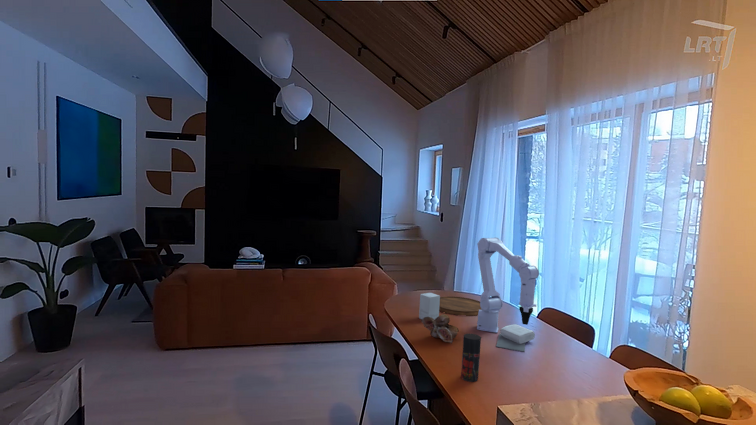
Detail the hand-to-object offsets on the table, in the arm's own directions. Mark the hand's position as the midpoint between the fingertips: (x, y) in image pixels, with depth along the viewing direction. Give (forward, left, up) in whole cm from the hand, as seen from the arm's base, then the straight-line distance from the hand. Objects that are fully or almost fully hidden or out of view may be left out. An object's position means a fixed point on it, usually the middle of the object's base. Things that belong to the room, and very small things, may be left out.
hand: (525, 324), depth 181 cm
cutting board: (-36, +42, -10) cm, 56 cm away
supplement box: (-46, +12, -9) cm, 48 cm away
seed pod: (-34, -12, -9) cm, 37 cm away
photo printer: (+2, 0, -6) cm, 6 cm away
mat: (-5, -2, -9) cm, 10 cm away
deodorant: (-17, -45, -9) cm, 49 cm away
